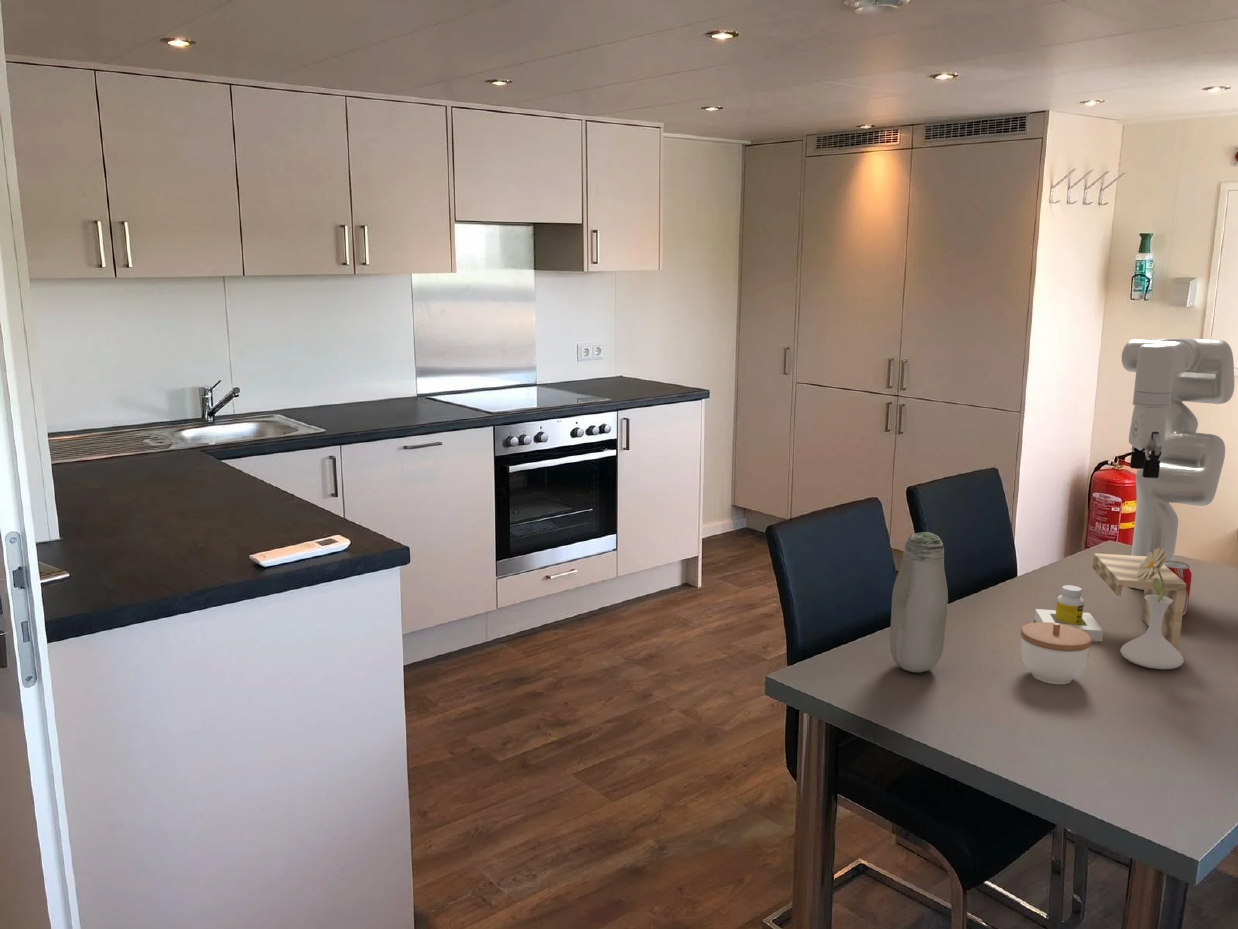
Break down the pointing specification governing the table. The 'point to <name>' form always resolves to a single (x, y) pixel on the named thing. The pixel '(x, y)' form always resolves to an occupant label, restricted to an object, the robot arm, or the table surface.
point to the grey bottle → (919, 604)
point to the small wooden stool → (1123, 574)
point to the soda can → (1181, 577)
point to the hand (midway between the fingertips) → (1143, 472)
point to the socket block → (1087, 625)
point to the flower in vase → (1153, 623)
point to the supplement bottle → (1069, 606)
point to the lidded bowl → (1054, 651)
